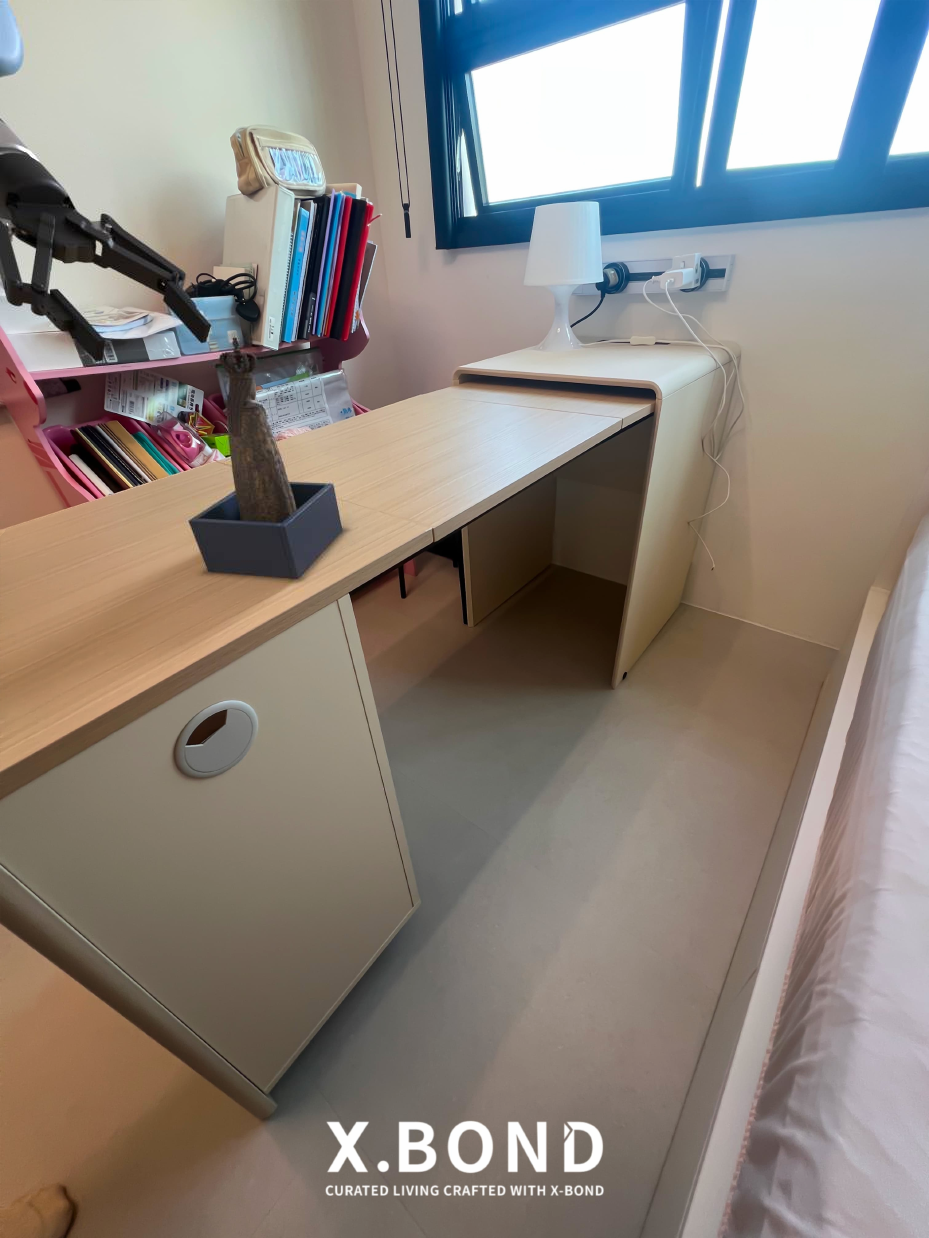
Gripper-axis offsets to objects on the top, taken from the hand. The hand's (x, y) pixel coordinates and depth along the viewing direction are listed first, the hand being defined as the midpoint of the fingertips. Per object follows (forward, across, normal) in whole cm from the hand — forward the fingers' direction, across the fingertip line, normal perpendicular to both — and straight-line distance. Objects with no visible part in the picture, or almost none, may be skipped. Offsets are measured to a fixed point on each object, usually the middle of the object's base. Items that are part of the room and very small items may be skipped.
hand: (158, 342), depth 58 cm
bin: (+25, 0, -10) cm, 27 cm away
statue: (+25, 0, -10) cm, 27 cm away
